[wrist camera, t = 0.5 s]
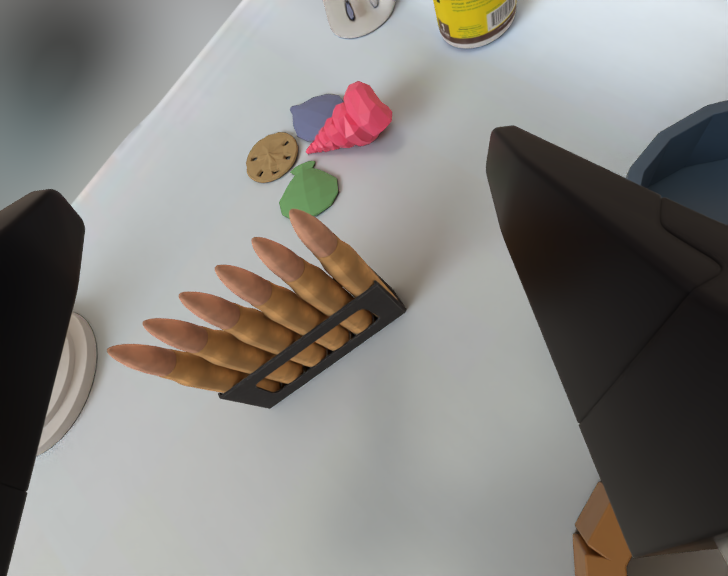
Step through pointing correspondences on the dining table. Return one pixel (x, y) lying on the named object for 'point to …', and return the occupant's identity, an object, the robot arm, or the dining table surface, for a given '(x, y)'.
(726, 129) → the pot
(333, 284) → the ammunition clip
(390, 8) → the clear pen holder cup
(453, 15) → the supplement bottle
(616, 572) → the brown grooved ring
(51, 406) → the monster figurine
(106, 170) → the dining table surface
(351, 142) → the toy pieces
